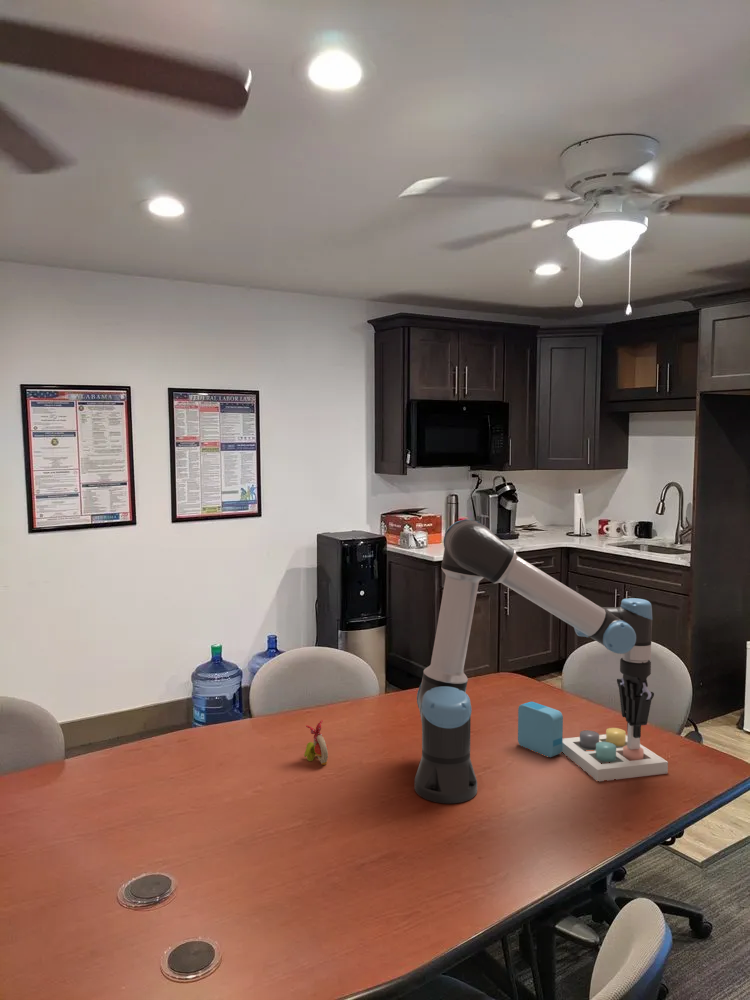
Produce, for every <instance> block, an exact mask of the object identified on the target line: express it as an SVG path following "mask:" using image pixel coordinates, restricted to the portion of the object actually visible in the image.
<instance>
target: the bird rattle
mask: <svg viewBox="0 0 750 1000" xmlns="http://www.w3.org/2000/svg"><path fill="white" fill-rule="evenodd" d="M322 724H323V719H321V720H320V721H319V722H318V723H317V724H316V726H315V728H313V727H312V726H310V725H307V724H306V725H305V726H306V728H308V729H310V730H309V731H310V734H311V735H313V742H311V741H310V742H307V744H306V748H305V752H304V754H303V756H304V757H305V758H306V760H307V761H308V762H313V760H314V759H315V757H317V759H318V761H319V762H320V764H321V766H325V765H327V764H328V759H329V753H328V750H329V747H328V745H327V742H326V741H325V738H324V735H323V734H322V733H321V731H322Z"/></svg>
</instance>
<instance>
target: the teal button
mask: <svg viewBox="0 0 750 1000" xmlns="http://www.w3.org/2000/svg"><path fill="white" fill-rule="evenodd" d="M596 758H597V759H599V760H601V761H606V762H612V761H615V760H616V745H615V744H613V743H610V742H598V743H596Z"/></svg>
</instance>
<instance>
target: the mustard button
mask: <svg viewBox="0 0 750 1000" xmlns="http://www.w3.org/2000/svg"><path fill="white" fill-rule="evenodd" d="M626 732H627V731H626V730H624V729H622V728H619V727H609V728H606V730H605V734H606V742H610V743H613V744H615V745H616V746H624V745H625V743H626V735H627V733H626Z"/></svg>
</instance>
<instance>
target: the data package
mask: <svg viewBox="0 0 750 1000" xmlns="http://www.w3.org/2000/svg"><path fill="white" fill-rule="evenodd" d="M517 709H518V710H517V742H518V744H519V746H520V747H522V746H523V747H522V748H524V747H525V748H524V749H526V748H528V749H530V750H529V751H531V750H533V751H535V752H534V753H536V752H538V753H540V754H539V755H541V754H543V755H545V756H548V757H550V758H553V757H555V756H558V755H560V754H562V753H561V752H562V741H563V739H564V738H563V731H564V725H563V724H564V716H563V713H562V712H561V711H560V710H558V709H555V708H553V707H549V706H547V705H544V704H541V703H538V702H534V701H529V702H525V703H522V704H519V706H518V708H517ZM528 749H527V750H528ZM533 751H532V752H533ZM538 753H537V754H538ZM543 755H542V756H543ZM545 756H544V757H545ZM548 757H547V758H548Z"/></svg>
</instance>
